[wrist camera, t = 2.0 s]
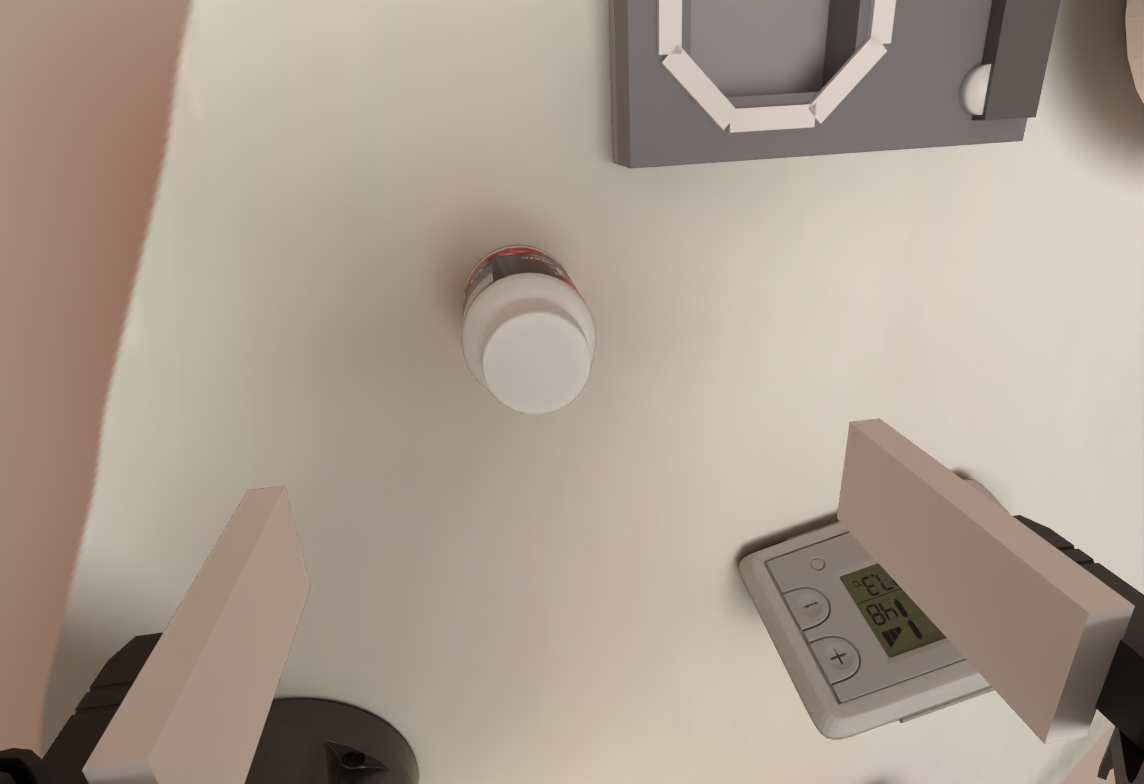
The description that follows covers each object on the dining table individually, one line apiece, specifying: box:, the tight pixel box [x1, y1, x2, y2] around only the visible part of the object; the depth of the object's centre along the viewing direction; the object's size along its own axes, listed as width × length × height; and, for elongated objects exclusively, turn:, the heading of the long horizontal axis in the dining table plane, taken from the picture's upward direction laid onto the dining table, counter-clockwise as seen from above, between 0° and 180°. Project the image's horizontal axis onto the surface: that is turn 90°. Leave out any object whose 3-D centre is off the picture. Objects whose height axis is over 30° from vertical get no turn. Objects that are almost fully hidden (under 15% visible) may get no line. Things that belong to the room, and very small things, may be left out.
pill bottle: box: [462, 246, 596, 414], centre depth 28 cm, size 5×5×10 cm
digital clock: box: [739, 479, 1007, 740], centre depth 37 cm, size 16×9×11 cm, turn 96°
